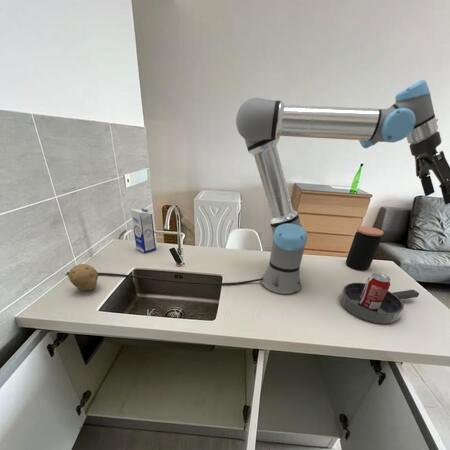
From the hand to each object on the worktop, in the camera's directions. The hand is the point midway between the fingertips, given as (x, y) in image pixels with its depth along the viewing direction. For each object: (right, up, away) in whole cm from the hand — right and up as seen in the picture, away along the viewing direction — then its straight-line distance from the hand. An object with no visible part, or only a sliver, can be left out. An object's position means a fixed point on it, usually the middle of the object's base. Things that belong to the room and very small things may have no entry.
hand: (439, 198), depth 84 cm
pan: (-22, -38, +5) cm, 44 cm away
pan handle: (-8, -35, +7) cm, 36 cm away
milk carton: (-113, -13, +38) cm, 120 cm away
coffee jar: (-10, -21, +34) cm, 41 cm away
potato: (-124, -32, +6) cm, 129 cm away
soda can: (-22, -38, +4) cm, 44 cm away
